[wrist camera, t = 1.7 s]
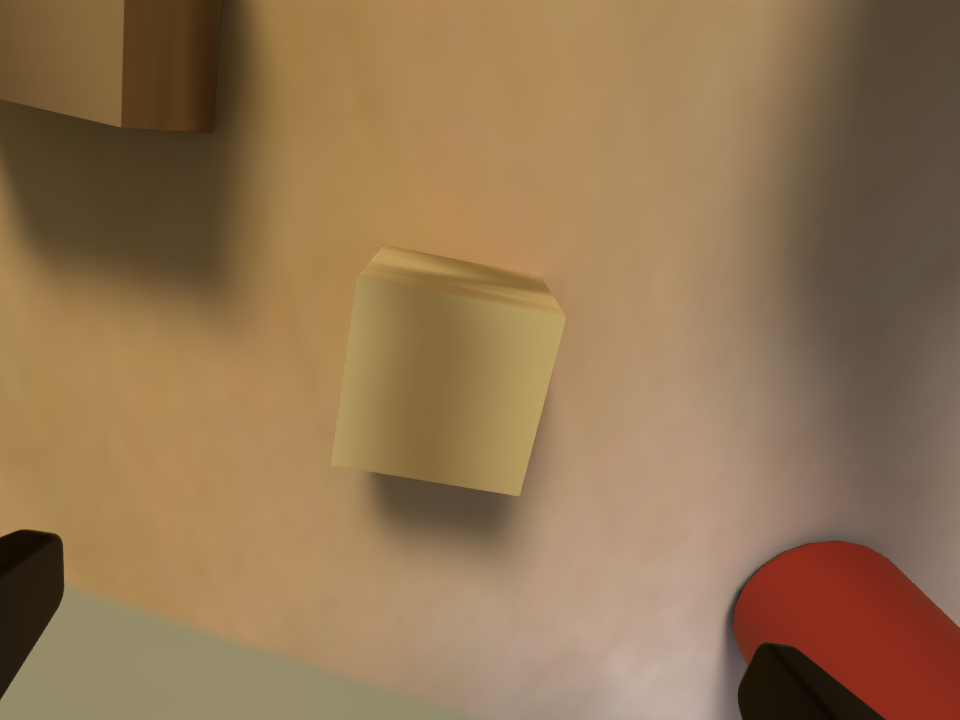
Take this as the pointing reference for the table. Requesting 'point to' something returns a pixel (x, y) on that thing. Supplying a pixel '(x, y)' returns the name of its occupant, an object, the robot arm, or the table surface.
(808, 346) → the table surface
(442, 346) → the oak block
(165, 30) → the walnut block
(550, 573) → the table surface
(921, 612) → the beer can
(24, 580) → the robot arm
